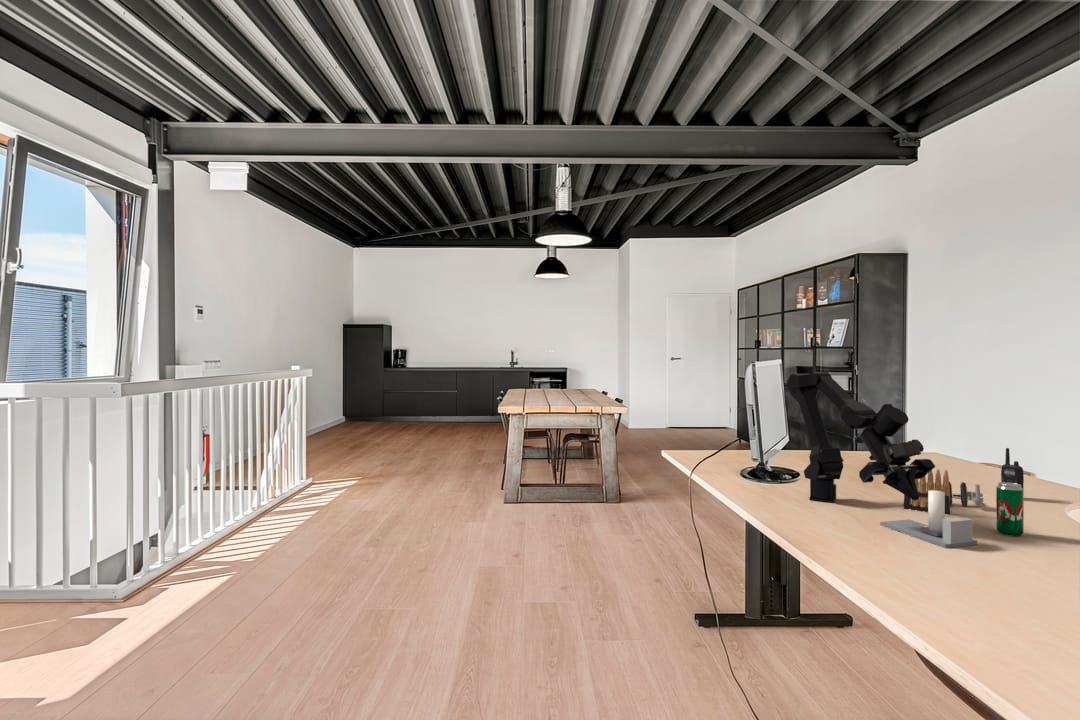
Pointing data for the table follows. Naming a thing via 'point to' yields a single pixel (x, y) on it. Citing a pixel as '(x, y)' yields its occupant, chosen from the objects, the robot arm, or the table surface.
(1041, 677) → the table surface
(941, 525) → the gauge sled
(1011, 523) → the soda can
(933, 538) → the gauge board
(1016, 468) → the two-way radio
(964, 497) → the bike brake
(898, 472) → the robot arm
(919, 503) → the ammunition clip
